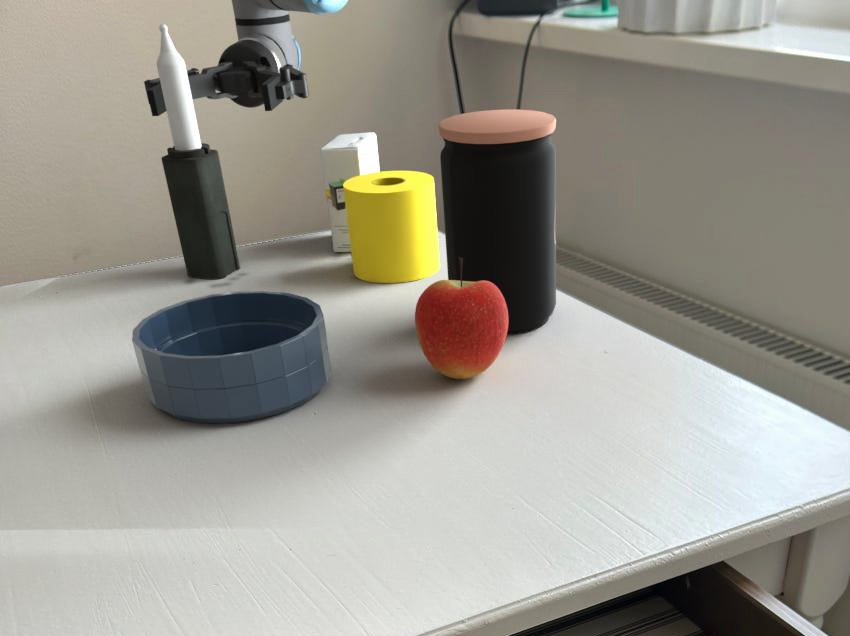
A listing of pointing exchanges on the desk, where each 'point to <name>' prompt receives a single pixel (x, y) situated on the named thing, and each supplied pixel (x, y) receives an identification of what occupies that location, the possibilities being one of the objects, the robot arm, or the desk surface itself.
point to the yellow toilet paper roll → (392, 226)
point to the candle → (194, 177)
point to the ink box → (346, 177)
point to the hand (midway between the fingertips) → (209, 100)
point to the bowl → (233, 355)
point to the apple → (461, 325)
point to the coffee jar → (503, 207)
